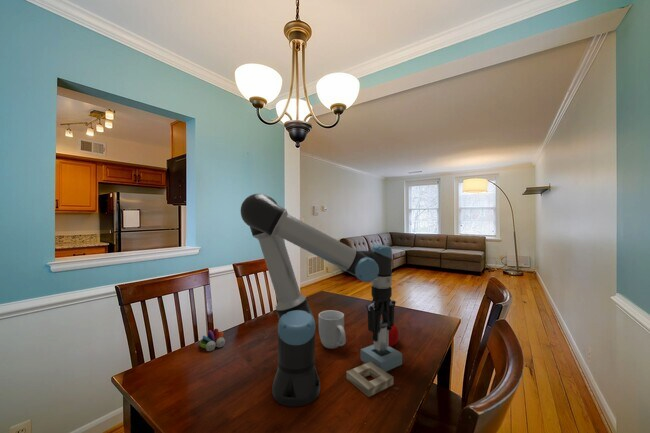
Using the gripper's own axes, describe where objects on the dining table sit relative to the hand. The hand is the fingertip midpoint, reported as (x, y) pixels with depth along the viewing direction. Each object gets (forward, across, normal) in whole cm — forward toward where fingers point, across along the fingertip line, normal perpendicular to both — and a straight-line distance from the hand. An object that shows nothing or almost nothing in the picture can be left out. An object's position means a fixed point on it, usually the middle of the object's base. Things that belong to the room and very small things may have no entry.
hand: (381, 347), depth 101 cm
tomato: (+6, +12, +9) cm, 16 cm away
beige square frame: (+6, -12, -6) cm, 15 cm away
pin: (+4, 0, 0) cm, 4 cm away
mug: (+6, -8, +20) cm, 22 cm away
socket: (+6, 0, 0) cm, 6 cm away
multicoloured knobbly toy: (+6, -51, +47) cm, 70 cm away
